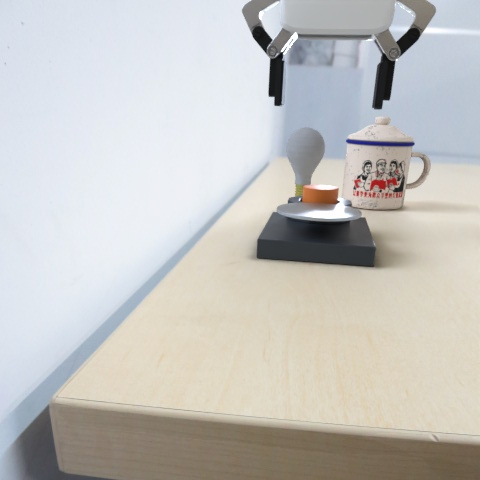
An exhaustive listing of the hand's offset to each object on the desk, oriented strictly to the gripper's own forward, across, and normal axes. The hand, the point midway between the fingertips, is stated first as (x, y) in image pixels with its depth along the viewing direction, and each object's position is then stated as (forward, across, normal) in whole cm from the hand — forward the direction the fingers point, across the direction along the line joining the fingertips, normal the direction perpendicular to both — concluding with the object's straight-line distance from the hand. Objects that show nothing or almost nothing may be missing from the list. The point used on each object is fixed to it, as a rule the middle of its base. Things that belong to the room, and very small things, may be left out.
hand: (327, 107), depth 48 cm
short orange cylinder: (+9, 0, 0) cm, 9 cm away
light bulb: (+13, +3, -21) cm, 25 cm away
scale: (+12, 0, +5) cm, 13 cm away
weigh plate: (+9, 0, +7) cm, 11 cm away
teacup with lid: (+13, -9, -21) cm, 26 cm away
